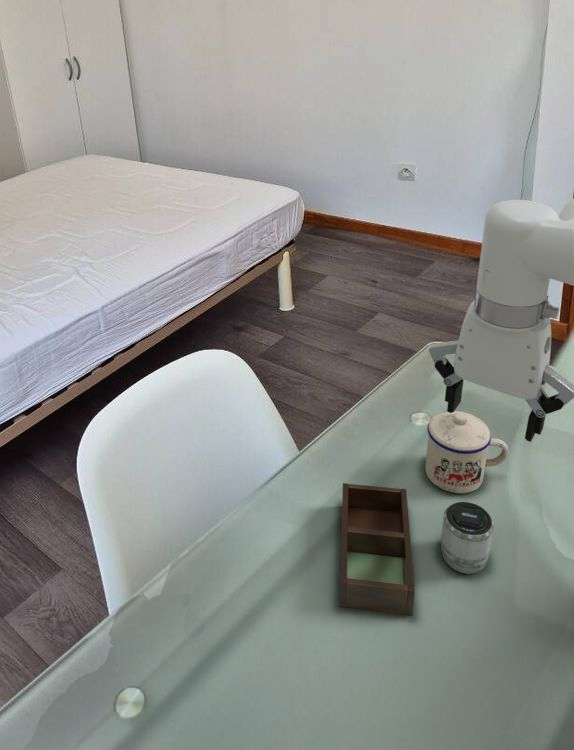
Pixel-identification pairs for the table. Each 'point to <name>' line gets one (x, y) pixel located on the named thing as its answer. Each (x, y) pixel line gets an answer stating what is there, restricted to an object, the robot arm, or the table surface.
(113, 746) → the table surface
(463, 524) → the camera lens
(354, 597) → the holder
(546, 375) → the robot arm
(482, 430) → the teacup with lid
